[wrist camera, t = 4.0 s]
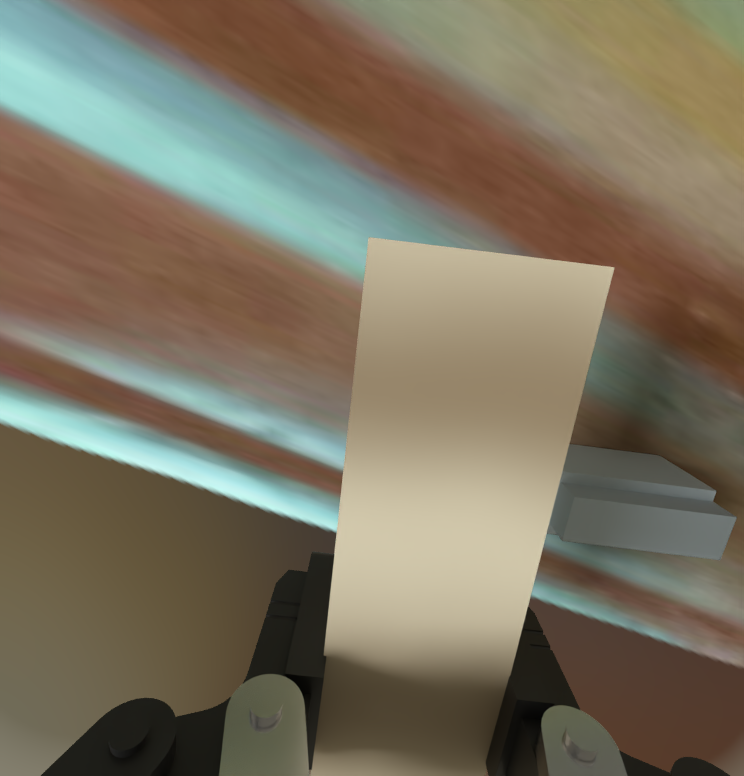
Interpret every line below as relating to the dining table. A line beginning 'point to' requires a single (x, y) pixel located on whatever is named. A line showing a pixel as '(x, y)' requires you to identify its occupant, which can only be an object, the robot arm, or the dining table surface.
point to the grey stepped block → (637, 505)
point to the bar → (446, 497)
